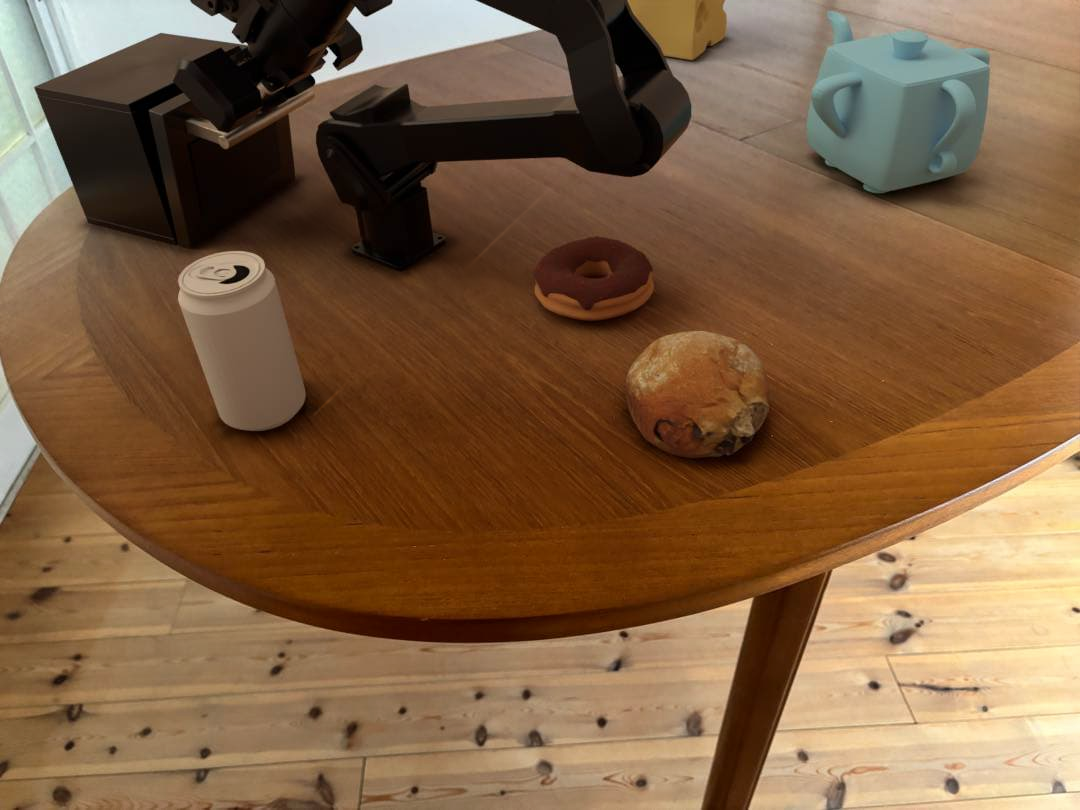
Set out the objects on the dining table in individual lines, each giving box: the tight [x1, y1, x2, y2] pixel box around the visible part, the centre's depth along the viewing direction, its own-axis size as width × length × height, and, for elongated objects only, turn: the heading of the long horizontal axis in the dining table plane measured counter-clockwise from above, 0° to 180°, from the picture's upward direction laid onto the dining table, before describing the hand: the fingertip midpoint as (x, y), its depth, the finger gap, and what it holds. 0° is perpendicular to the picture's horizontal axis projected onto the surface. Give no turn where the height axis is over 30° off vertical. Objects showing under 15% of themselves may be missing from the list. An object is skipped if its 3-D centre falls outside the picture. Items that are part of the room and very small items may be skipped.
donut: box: [532, 235, 655, 322], centre depth 77 cm, size 10×10×4 cm
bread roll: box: [625, 330, 770, 459], centre depth 64 cm, size 10×10×8 cm
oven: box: [33, 32, 249, 246], centre depth 91 cm, size 12×16×14 cm
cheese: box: [627, 0, 728, 61], centre depth 122 cm, size 10×11×10 cm
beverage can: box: [177, 250, 307, 432], centre depth 64 cm, size 6×6×12 cm
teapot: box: [806, 10, 991, 194], centre depth 90 cm, size 18×16×14 cm
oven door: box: [149, 87, 316, 250], centre depth 88 cm, size 7×16×14 cm, turn 153°
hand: (239, 116), depth 85 cm, fingers closed, pressing on oven door
